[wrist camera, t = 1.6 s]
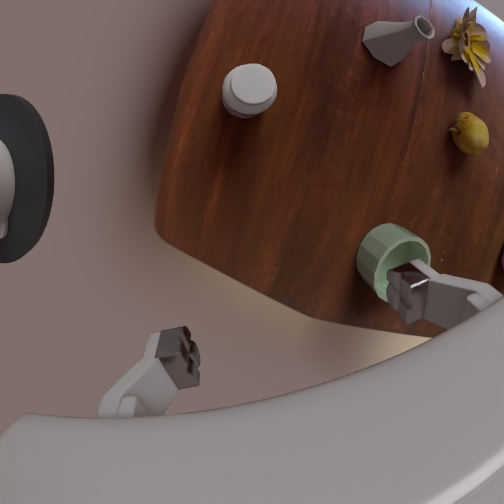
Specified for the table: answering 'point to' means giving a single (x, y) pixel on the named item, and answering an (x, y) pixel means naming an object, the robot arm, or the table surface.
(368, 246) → the crock
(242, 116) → the pill bottle
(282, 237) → the table surface
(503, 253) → the teapot
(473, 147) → the fruit
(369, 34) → the flask
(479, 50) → the decorative flower
